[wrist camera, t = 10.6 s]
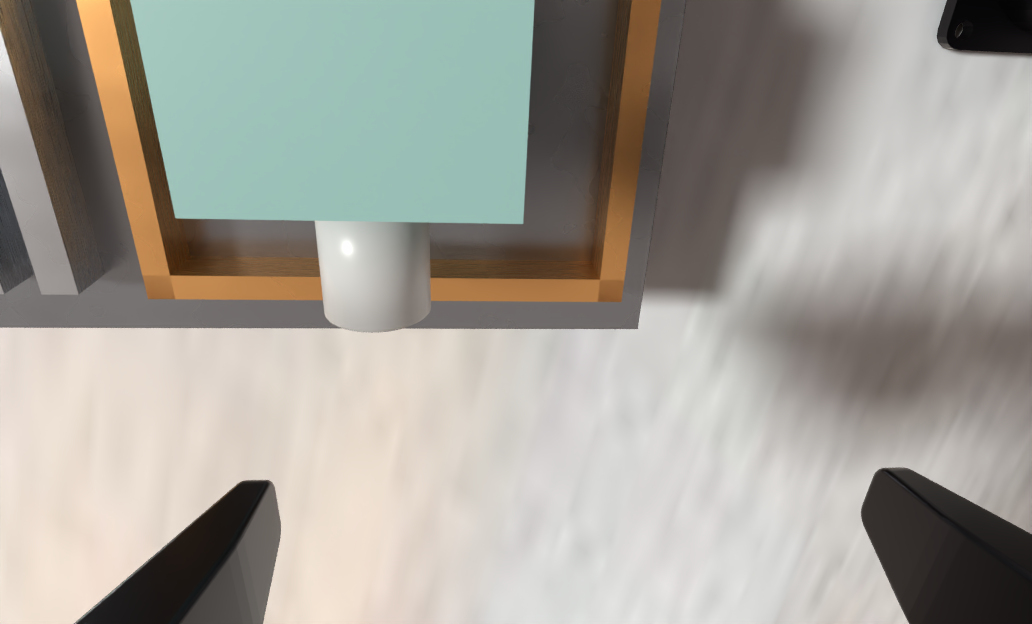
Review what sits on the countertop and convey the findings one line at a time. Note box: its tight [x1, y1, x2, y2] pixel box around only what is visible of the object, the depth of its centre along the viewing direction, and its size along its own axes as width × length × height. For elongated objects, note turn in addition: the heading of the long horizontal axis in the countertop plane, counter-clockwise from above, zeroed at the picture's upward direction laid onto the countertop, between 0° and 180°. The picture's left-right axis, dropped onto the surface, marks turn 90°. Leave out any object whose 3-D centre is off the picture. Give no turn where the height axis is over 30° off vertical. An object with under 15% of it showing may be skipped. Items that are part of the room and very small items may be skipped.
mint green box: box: [130, 0, 535, 332], centre depth 11 cm, size 5×7×6 cm
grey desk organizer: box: [0, 0, 686, 329], centre depth 14 cm, size 18×15×5 cm
